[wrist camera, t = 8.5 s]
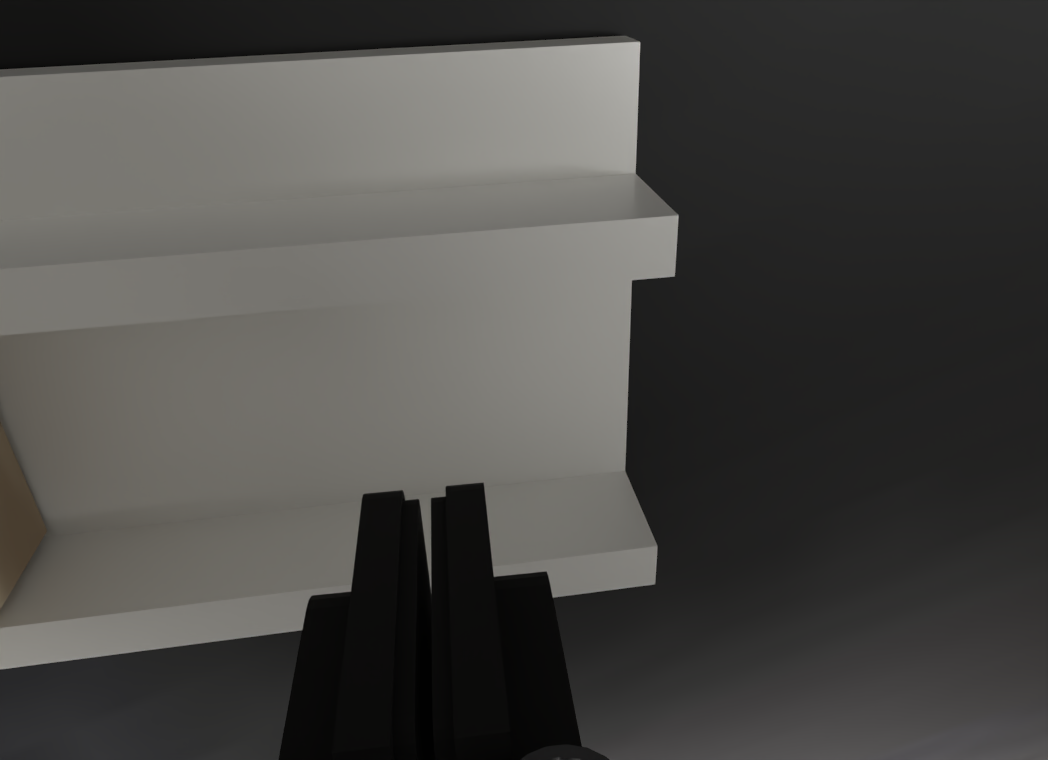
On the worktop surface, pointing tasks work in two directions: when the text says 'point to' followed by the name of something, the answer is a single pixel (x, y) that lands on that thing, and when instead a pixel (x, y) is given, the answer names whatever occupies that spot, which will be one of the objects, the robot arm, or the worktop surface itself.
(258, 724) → the worktop surface
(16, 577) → the block
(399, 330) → the chute
